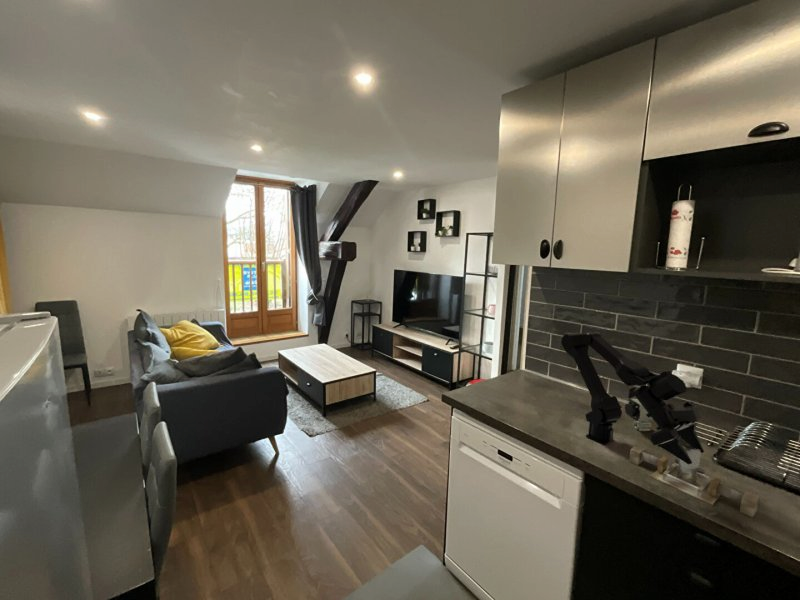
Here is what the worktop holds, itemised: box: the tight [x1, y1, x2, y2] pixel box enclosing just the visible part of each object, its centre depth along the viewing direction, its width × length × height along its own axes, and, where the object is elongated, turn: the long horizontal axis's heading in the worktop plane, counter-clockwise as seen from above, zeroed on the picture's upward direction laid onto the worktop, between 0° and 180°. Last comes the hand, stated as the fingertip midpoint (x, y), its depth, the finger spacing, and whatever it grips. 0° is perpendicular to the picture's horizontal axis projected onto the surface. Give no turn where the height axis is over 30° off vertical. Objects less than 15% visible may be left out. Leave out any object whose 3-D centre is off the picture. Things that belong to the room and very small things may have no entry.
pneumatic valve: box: [624, 398, 654, 432], centre depth 129 cm, size 6×12×12 cm, turn 94°
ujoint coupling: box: [674, 444, 706, 486], centre depth 100 cm, size 7×4×10 cm
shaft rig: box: [628, 445, 760, 518], centre depth 100 cm, size 28×10×4 cm, turn 35°
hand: (696, 458), depth 98 cm, fingers open, 9 cm apart
